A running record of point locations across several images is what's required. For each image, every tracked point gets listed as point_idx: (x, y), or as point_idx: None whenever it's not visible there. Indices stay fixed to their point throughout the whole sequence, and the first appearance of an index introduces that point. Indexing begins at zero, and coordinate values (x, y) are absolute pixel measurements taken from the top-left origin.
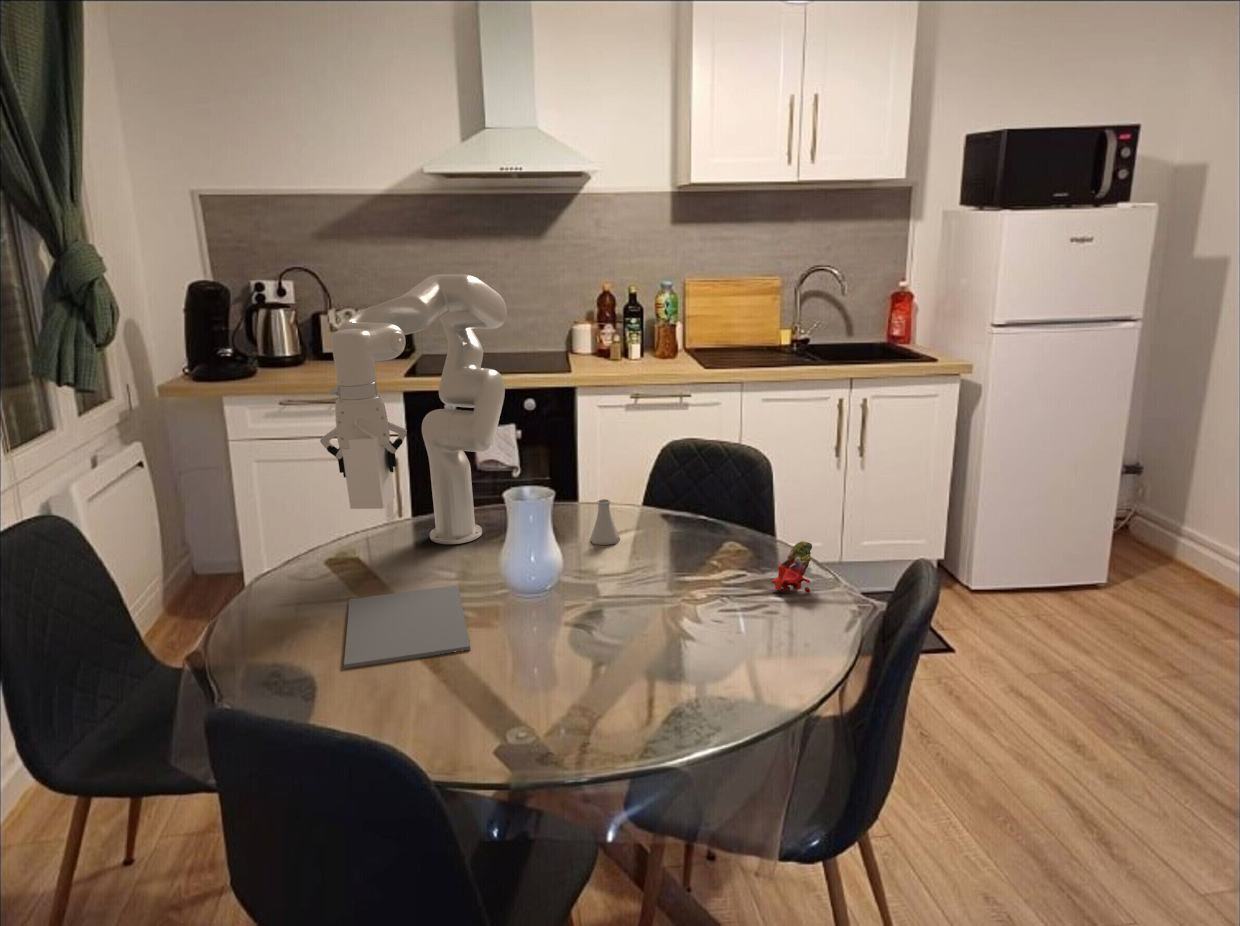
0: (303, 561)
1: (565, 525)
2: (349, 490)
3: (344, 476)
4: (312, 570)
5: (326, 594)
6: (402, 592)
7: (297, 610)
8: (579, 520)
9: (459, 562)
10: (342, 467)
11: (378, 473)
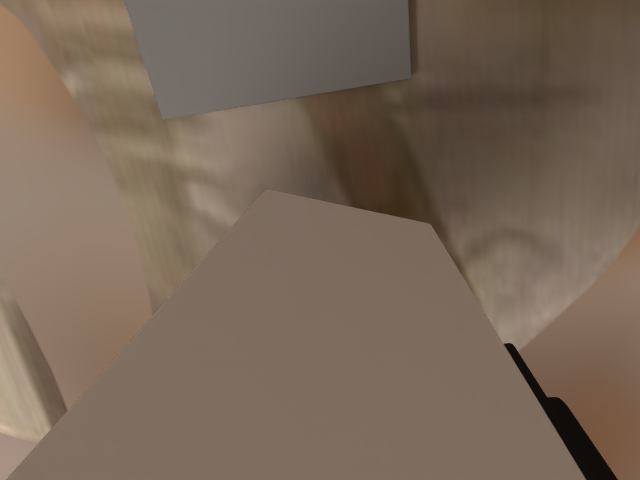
0: (527, 329)
1: (50, 375)
2: (447, 265)
3: (506, 346)
4: (507, 281)
5: (471, 143)
6: (284, 98)
7: (543, 52)
8: (33, 388)
9: (199, 258)
10: (558, 416)
11: (187, 279)
